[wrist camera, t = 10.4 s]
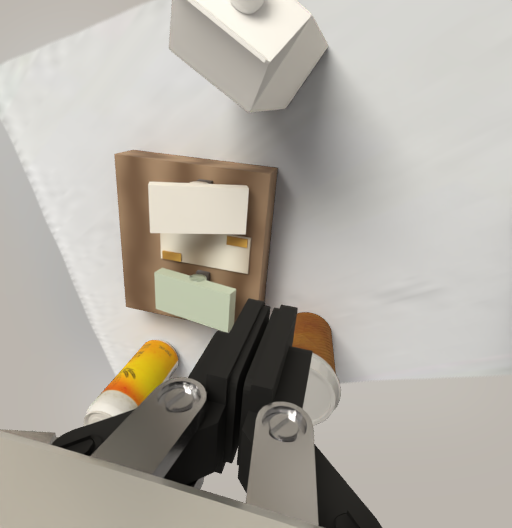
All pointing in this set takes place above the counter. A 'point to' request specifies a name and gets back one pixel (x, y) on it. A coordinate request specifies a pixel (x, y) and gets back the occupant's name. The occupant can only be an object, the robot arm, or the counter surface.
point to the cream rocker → (197, 208)
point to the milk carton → (248, 47)
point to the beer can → (135, 381)
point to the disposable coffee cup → (318, 366)
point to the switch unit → (192, 245)
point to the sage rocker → (195, 299)
